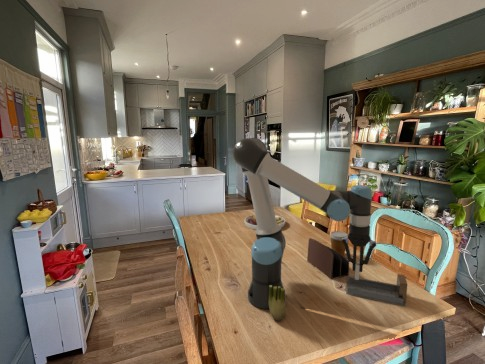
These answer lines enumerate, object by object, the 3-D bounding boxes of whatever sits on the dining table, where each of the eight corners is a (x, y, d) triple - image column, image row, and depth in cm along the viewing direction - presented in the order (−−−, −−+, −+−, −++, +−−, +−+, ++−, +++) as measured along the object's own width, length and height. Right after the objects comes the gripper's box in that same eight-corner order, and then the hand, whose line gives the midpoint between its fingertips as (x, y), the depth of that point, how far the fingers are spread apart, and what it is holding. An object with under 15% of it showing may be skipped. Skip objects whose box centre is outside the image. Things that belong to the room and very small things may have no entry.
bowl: (263, 217, 212) (263, 208, 211) (293, 226, 190) (293, 215, 189) (236, 226, 192) (236, 215, 191) (266, 236, 170) (266, 225, 169)
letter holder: (330, 281, 116) (332, 251, 114) (306, 261, 135) (307, 236, 132) (349, 277, 119) (350, 248, 117) (323, 258, 138) (324, 233, 136)
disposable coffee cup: (350, 254, 142) (351, 233, 140) (343, 260, 135) (344, 238, 133) (333, 249, 149) (334, 229, 147) (325, 255, 142) (326, 234, 140)
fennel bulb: (266, 315, 94) (266, 285, 92) (276, 310, 97) (277, 280, 95) (277, 324, 89) (278, 292, 87) (288, 318, 92) (288, 288, 90)
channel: (406, 307, 97) (408, 286, 96) (346, 295, 105) (347, 275, 104) (401, 293, 106) (403, 273, 105) (346, 282, 114) (348, 264, 113)
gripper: (377, 222, 104) (373, 276, 108) (342, 219, 110) (340, 271, 114) (378, 228, 98) (374, 286, 102) (341, 225, 103) (339, 279, 107)
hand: (356, 278), depth 108 cm, fingers closed
